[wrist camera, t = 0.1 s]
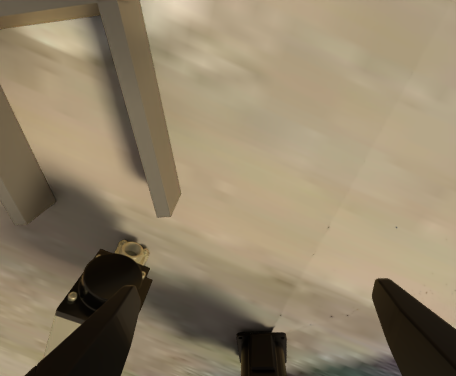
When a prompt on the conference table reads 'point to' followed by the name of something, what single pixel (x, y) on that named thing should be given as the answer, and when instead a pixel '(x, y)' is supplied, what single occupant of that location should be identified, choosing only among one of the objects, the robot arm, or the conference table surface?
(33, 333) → the conference table surface
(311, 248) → the conference table surface
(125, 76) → the housing bay
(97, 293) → the pneumatic valve
